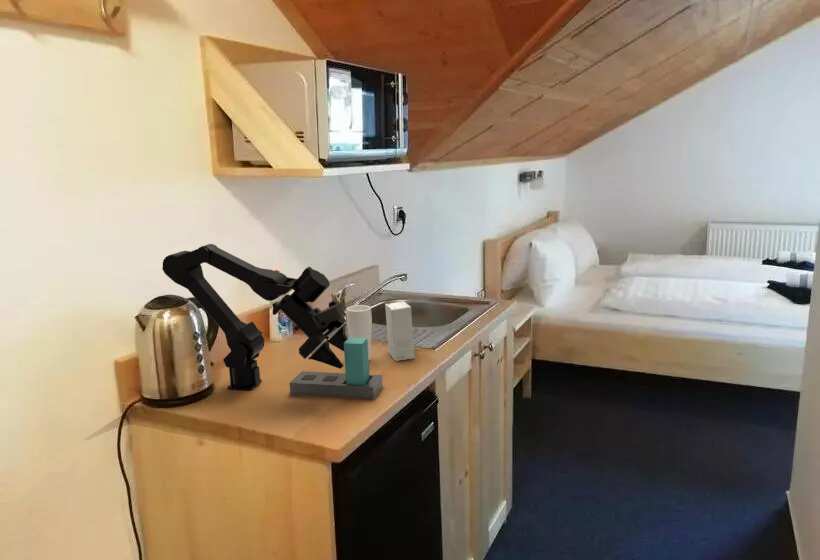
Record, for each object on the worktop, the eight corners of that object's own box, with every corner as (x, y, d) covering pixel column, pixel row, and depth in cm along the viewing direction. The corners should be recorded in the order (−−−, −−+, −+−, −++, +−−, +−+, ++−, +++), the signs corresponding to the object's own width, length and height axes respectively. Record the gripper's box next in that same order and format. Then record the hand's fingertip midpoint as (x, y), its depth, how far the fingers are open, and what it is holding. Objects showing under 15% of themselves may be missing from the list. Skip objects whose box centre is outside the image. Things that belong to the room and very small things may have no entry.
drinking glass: (372, 355, 181) (369, 304, 178) (375, 363, 174) (372, 310, 171) (348, 357, 180) (345, 305, 177) (350, 365, 173) (347, 312, 170)
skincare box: (415, 359, 176) (413, 307, 173) (393, 361, 175) (391, 309, 172) (407, 350, 184) (405, 300, 181) (386, 352, 183) (384, 302, 180)
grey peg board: (290, 394, 155) (289, 382, 154) (302, 382, 162) (302, 370, 162) (373, 399, 150) (373, 386, 149) (382, 386, 157) (382, 374, 157)
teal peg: (346, 394, 153) (343, 343, 150) (352, 387, 157) (349, 337, 155) (364, 395, 152) (362, 343, 149) (370, 388, 156) (367, 338, 154)
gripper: (308, 302, 142) (358, 351, 142) (336, 283, 160) (380, 327, 160) (278, 334, 146) (326, 383, 146) (308, 313, 164) (351, 356, 163)
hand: (348, 360), depth 154 cm, fingers open, 9 cm apart
